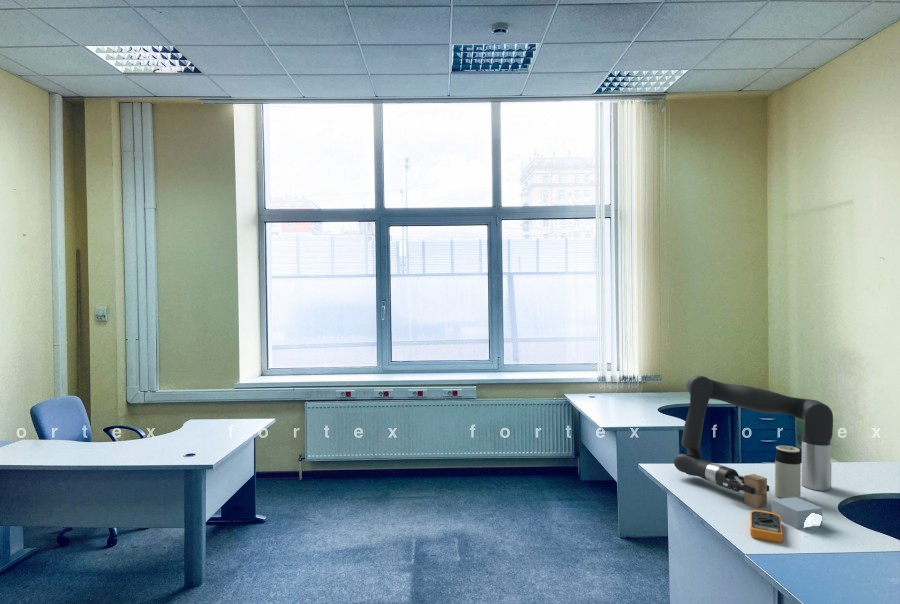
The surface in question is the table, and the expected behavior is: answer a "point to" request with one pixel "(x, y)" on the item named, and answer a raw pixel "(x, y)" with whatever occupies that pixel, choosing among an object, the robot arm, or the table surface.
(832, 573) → the table surface
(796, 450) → the travel mug
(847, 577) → the table surface
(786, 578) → the table surface
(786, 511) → the slate box
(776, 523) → the multimeter
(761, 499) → the walnut block
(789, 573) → the table surface
